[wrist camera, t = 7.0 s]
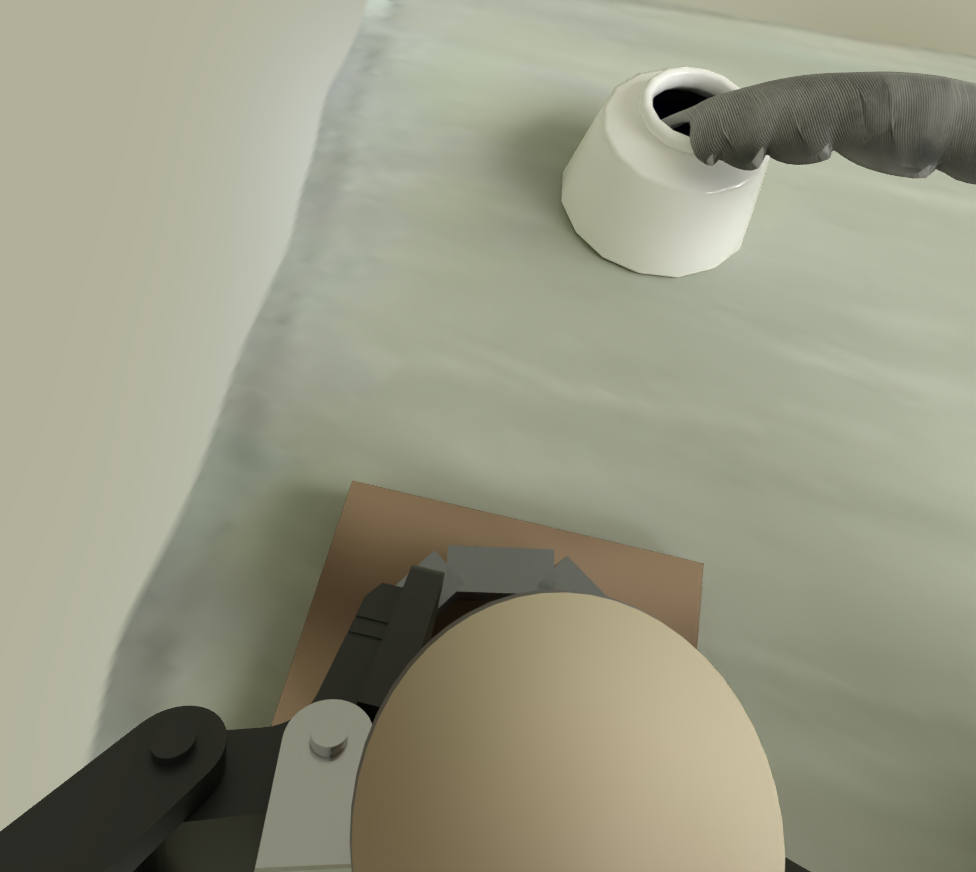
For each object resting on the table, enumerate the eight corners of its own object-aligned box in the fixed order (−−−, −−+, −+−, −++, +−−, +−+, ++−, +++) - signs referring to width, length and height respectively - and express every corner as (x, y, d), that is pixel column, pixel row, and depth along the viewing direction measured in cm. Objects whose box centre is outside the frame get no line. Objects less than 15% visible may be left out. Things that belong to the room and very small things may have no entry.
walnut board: (361, 495, 20) (352, 480, 18) (680, 571, 20) (703, 563, 18) (105, 1292, 13) (46, 1401, 11) (600, 1431, 13) (626, 1566, 11)
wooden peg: (492, 598, 17) (564, 509, 6) (586, 702, 16) (874, 822, 5) (392, 696, 16) (252, 810, 5) (487, 815, 15) (582, 1285, 4)
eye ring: (495, 512, 18) (502, 488, 15) (677, 705, 16) (723, 717, 14) (297, 694, 16) (264, 704, 13) (484, 941, 14) (491, 1013, 11)
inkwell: (626, 104, 29) (710, -157, 19) (947, 293, 25) (1233, 88, 16) (520, 207, 26) (558, -42, 16) (867, 436, 22) (1160, 286, 13)
